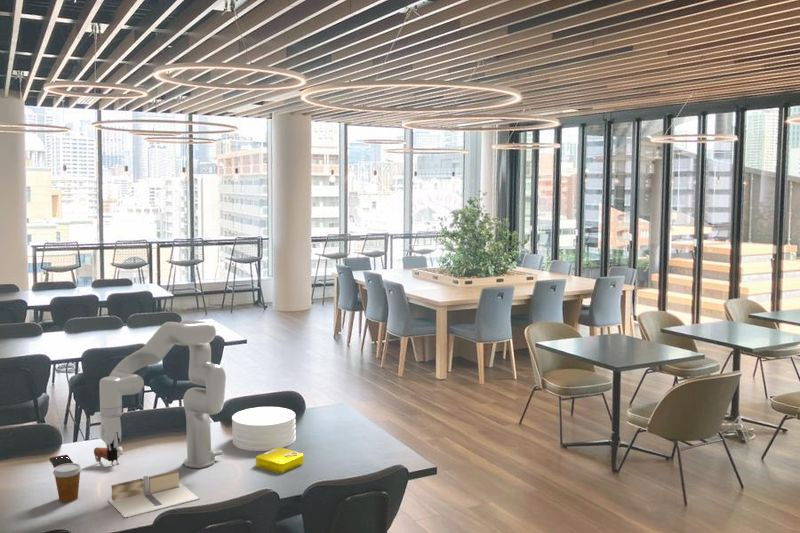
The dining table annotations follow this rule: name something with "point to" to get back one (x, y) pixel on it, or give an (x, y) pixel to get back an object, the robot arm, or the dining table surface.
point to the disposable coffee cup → (67, 481)
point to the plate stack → (263, 428)
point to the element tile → (279, 460)
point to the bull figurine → (103, 453)
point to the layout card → (155, 495)
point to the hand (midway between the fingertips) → (112, 459)
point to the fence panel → (127, 489)
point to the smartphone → (60, 460)
